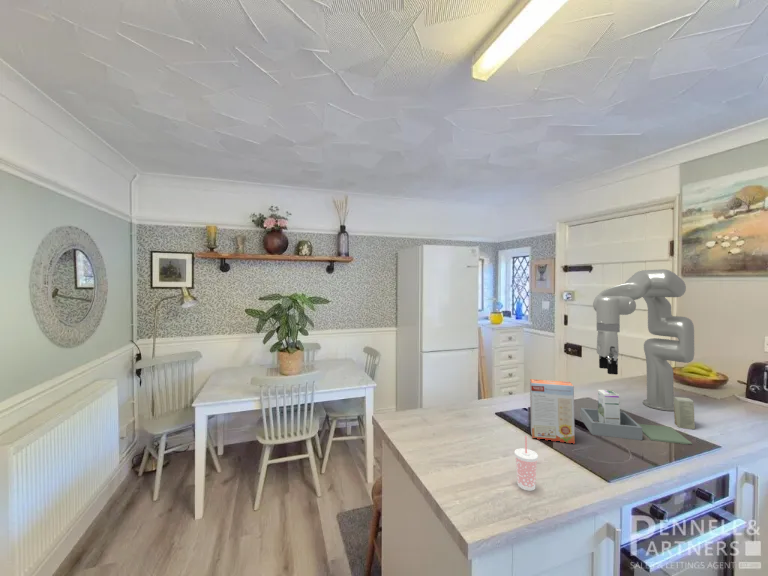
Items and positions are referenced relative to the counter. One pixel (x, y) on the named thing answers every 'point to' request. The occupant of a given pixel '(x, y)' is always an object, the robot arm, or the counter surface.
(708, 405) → the counter surface
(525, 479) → the beverage cup
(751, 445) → the counter surface
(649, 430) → the mat
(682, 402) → the box
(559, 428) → the cracker box
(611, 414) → the syrup box
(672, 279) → the robot arm
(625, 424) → the parts bin
